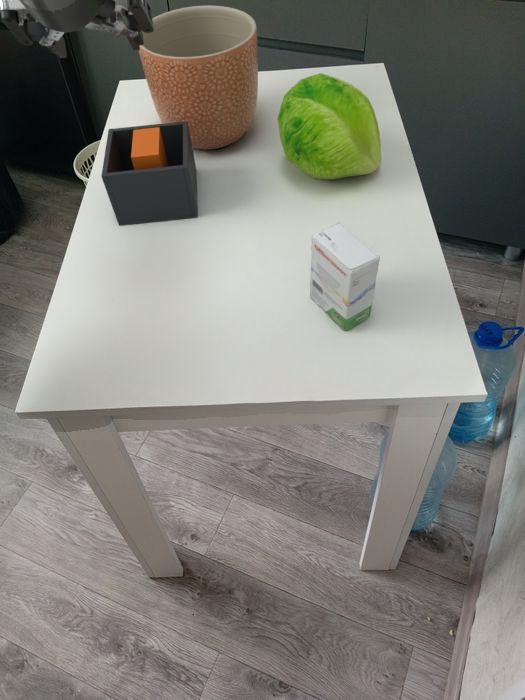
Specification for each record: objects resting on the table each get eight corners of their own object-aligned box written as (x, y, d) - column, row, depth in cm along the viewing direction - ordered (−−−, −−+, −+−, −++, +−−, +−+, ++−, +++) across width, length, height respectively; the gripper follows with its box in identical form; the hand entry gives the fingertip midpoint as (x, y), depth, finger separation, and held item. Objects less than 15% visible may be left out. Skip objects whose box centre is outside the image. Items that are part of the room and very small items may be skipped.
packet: (146, 208, 88) (130, 157, 80) (147, 181, 93) (133, 129, 85) (171, 206, 89) (158, 154, 81) (171, 178, 93) (159, 126, 85)
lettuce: (350, 219, 87) (413, 138, 79) (251, 150, 83) (306, 57, 74) (349, 188, 101) (402, 116, 93) (264, 128, 97) (311, 47, 88)
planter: (138, 139, 103) (110, 37, 88) (210, 96, 112) (196, -4, 96) (212, 176, 94) (196, 70, 79) (283, 126, 103) (281, 21, 88)
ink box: (371, 316, 73) (383, 255, 63) (344, 332, 71) (351, 272, 62) (334, 281, 77) (339, 219, 68) (308, 295, 76) (309, 234, 66)
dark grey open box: (118, 225, 87) (101, 176, 80) (124, 178, 96) (108, 128, 88) (197, 217, 88) (188, 167, 80) (196, 170, 96) (187, 120, 88)
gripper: (121, -97, 43) (155, 4, 59) (-49, -80, 43) (32, 16, 59) (134, 0, 44) (164, 73, 60) (-31, 17, 44) (43, 86, 60)
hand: (99, 45), depth 59 cm, fingers open, 8 cm apart
